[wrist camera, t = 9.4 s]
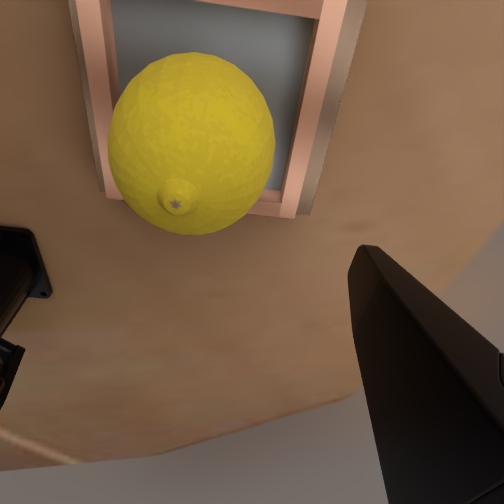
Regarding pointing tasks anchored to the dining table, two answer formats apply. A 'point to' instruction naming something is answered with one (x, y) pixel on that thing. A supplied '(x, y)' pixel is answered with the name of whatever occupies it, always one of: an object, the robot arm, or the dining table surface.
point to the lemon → (191, 143)
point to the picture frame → (241, 55)
